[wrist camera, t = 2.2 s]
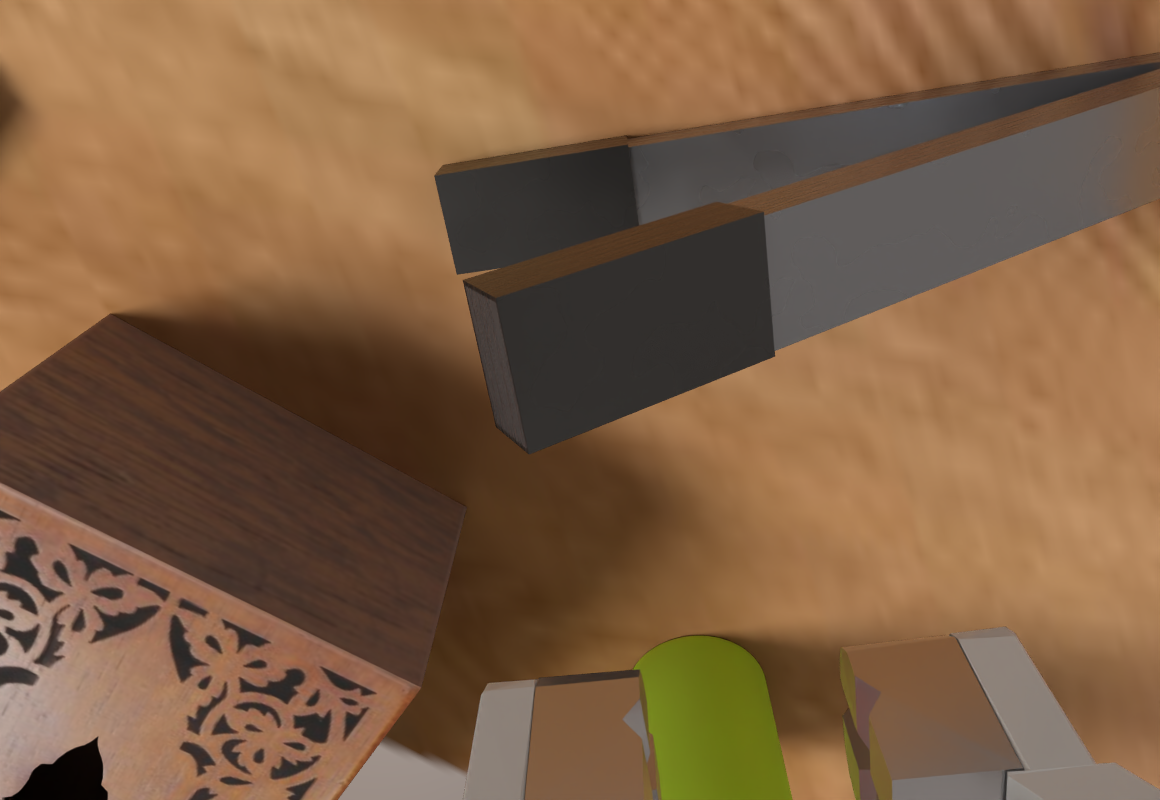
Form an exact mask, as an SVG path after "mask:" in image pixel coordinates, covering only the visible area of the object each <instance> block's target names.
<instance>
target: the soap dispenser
mask: <svg viewBox="0 0 1160 800" xmlns="http://www.w3.org/2000/svg"><path fill="white" fill-rule="evenodd" d="M637 669H640V671H641V674H642V678H643V683H644V688H645V693H646V698H647V709H648V725H649V732H650V733H651V734H652V735H653V738H654V744H655V750H656V757H657V764H658V771H659V778H660V788H661V798H662V800H792V795H791V791H790V786H789V782H788V778H787V773H786V769H785V764H784V760H783V755H782V751H781V746H780V742H779V737H778V733H777V728H776V724H775V720H774V715H773V711H772V706H771V702H770V697H769V693H768V688H767V684H766V679H765V676H764V673H763V670H762V668H761V666H760V665H759V663H758V662H757V661H756V659H755V658H754V657H753V656H752V655H751V654H750V653H749V652H747V651H746V650H745V649H743V648H742V647H740V646H739V645H737V644H735V643H732V642H730V641H727V640H724V639H721V638H717V637H711V636H687V637H681V638H677V639H673V640H670V641H667V642H665V643H662V644H660V645H658V646H656V647H655V648H653V649H652V650H650V651H649V652H648V653H646V654H645V655H644V656H643V657H642V658H641V659H640V660H639V661H638V663H637V664H636V665H635V667H634V668H633V670H637Z"/></svg>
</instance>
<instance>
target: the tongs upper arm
mask: <svg viewBox="0 0 1160 800" xmlns="http://www.w3.org/2000/svg"><path fill="white" fill-rule="evenodd" d="M1157 199H1160V69H1157V70H1154V71H1151V72H1148V73H1144V74H1141V75H1138V76H1135V77H1132V78H1128V79H1125V80H1122V81H1119V82H1116V83H1112V84H1109V85H1106V86H1103V87H1100V88H1096V89H1093V90H1090V91H1087V92H1084V93H1080V94H1077V95H1074V96H1071V97H1068V98H1064V99H1061V100H1058V101H1055V102H1052V103H1048V104H1045V105H1042V106H1039V107H1036V108H1032V109H1029V110H1026V111H1023V112H1020V113H1016V114H1013V115H1010V116H1007V117H1003V118H1000V119H997V120H994V121H991V122H987V123H984V124H981V125H978V126H975V127H971V128H968V129H965V130H962V131H959V132H955V133H952V134H949V135H946V136H943V137H939V138H936V139H933V140H930V141H927V142H923V143H920V144H917V145H914V146H911V147H907V148H904V149H901V150H898V151H895V152H891V153H888V154H885V155H882V156H879V157H875V158H872V159H869V160H866V161H862V162H859V163H856V164H853V165H850V166H846V167H843V168H840V169H837V170H834V171H830V172H827V173H824V174H821V175H818V176H814V177H811V178H808V179H805V180H802V181H798V182H795V183H792V184H789V185H786V186H782V187H779V188H776V189H773V190H770V191H766V192H763V193H760V194H757V195H754V196H750V197H747V198H744V199H741V200H738V201H734V202H731V203H728V204H726V203H721V202H714V203H711V204H707V205H704V206H701V207H698V208H694V209H691V210H688V211H685V212H681V213H678V214H675V215H672V216H668V217H665V218H662V219H659V220H656V221H652V222H649V223H646V224H643V225H639V226H636V227H633V228H630V229H626V230H623V231H620V232H617V233H614V234H610V235H607V236H604V237H601V238H597V239H594V240H591V241H588V242H584V243H581V244H578V245H575V246H572V247H568V248H565V249H562V250H559V251H555V252H552V253H549V254H546V255H542V256H539V257H536V258H533V259H530V260H526V261H523V262H520V263H517V264H513V265H510V266H507V267H504V268H500V269H497V270H494V271H491V272H487V273H484V274H481V275H478V276H475V277H471V278H468V279H465V280H463V283H464V288H465V292H466V296H467V301H468V305H469V310H470V314H471V318H472V323H473V327H474V332H475V336H476V341H477V345H478V349H479V354H480V358H481V363H482V367H483V371H484V376H485V380H486V385H487V389H488V394H489V398H490V402H491V407H492V411H493V416H494V420H495V424H496V427H497V428H498V429H499V430H500V431H502V432H503V433H504V434H505V435H506V436H508V437H509V438H510V439H511V440H512V441H514V442H515V443H516V444H517V445H518V446H520V447H521V448H522V449H523V450H524V451H526V452H527V453H528V454H531V453H534V452H536V451H539V450H541V449H544V448H546V447H549V446H552V445H554V444H557V443H559V442H562V441H564V440H567V439H569V438H572V437H574V436H577V435H579V434H582V433H584V432H587V431H589V430H592V429H594V428H597V427H599V426H602V425H604V424H607V423H609V422H612V421H614V420H617V419H619V418H622V417H624V416H627V415H629V414H632V413H634V412H637V411H639V410H642V409H644V408H647V407H649V406H652V405H654V404H657V403H659V402H662V401H664V400H667V399H669V398H672V397H674V396H677V395H679V394H682V393H684V392H687V391H689V390H692V389H694V388H697V387H699V386H702V385H704V384H707V383H710V382H712V381H715V380H717V379H720V378H722V377H725V376H727V375H730V374H732V373H735V372H737V371H740V370H742V369H745V368H747V367H750V366H752V365H755V364H757V363H760V362H762V361H765V360H767V359H770V358H772V357H775V351H776V350H778V349H781V348H783V347H786V346H788V345H791V344H794V343H796V342H799V341H801V340H804V339H806V338H809V337H811V336H814V335H816V334H819V333H821V332H824V331H826V330H829V329H831V328H834V327H836V326H839V325H842V324H844V323H847V322H849V321H852V320H854V319H857V318H859V317H862V316H864V315H867V314H869V313H872V312H874V311H877V310H879V309H882V308H884V307H887V306H890V305H892V304H895V303H897V302H900V301H902V300H905V299H907V298H910V297H912V296H915V295H917V294H920V293H922V292H925V291H927V290H930V289H932V288H935V287H938V286H940V285H943V284H945V283H948V282H950V281H953V280H955V279H958V278H960V277H963V276H965V275H968V274H970V273H973V272H975V271H978V270H980V269H983V268H986V267H988V266H991V265H993V264H996V263H998V262H1001V261H1003V260H1006V259H1008V258H1011V257H1013V256H1016V255H1018V254H1021V253H1023V252H1026V251H1028V250H1031V249H1034V248H1036V247H1039V246H1041V245H1044V244H1046V243H1049V242H1051V241H1054V240H1056V239H1059V238H1061V237H1064V236H1066V235H1069V234H1071V233H1074V232H1076V231H1079V230H1082V229H1084V228H1087V227H1089V226H1092V225H1094V224H1097V223H1099V222H1102V221H1104V220H1107V219H1109V218H1112V217H1114V216H1117V215H1119V214H1122V213H1124V212H1127V211H1130V210H1132V209H1135V208H1137V207H1140V206H1142V205H1145V204H1147V203H1150V202H1152V201H1155V200H1157Z"/></svg>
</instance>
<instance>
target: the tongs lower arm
mask: <svg viewBox="0 0 1160 800" xmlns="http://www.w3.org/2000/svg"><path fill="white" fill-rule="evenodd" d="M1157 69H1160V53H1154V54H1148V55H1142V56H1136V57H1129V58H1123V59H1117V60H1111V61H1105V62H1099V63H1092V64H1086V65H1080V66H1074V67H1068V68H1061V69H1055V70H1049V71H1043V72H1037V73H1030V74H1024V75H1018V76H1012V77H1006V78H1000V79H993V80H987V81H981V82H975V83H969V84H962V85H956V86H950V87H944V88H938V89H932V90H925V91H919V92H913V93H907V94H901V95H894V96H888V97H882V98H876V99H870V100H864V101H857V102H851V103H845V104H839V105H833V106H826V107H820V108H814V109H808V110H802V111H796V112H789V113H783V114H777V115H771V116H765V117H758V118H752V119H746V120H740V121H734V122H728V123H721V124H715V125H709V126H703V127H697V128H690V129H684V130H678V131H672V132H666V133H660V134H653V135H647V136H641V137H635V138H629V139H627V136H621V137H615V138H608V139H602V140H596V141H590V142H584V143H578V144H571V145H565V146H559V147H553V148H547V149H541V150H534V151H528V152H522V153H516V154H510V155H504V156H497V157H491V158H485V159H479V160H473V161H467V162H460V163H454V164H448V165H443V166H442V167H441V168H440V169H439V171H438V172H437V173H436V174H435V181H436V185H437V190H438V194H439V198H440V203H441V207H442V211H443V216H444V220H445V225H446V229H447V233H448V238H449V242H450V246H451V251H452V255H453V260H454V264H455V268H456V273H457V275H458V274H465V273H471V272H478V271H485V270H491V269H498V268H504V267H507V266H510V265H513V264H517V263H520V262H523V261H526V260H530V259H533V258H536V257H539V256H542V255H546V254H549V253H552V252H555V251H559V250H562V249H565V248H568V247H572V246H575V245H578V244H581V243H584V242H588V241H591V240H594V239H597V238H601V237H604V236H607V235H610V234H614V233H617V232H620V231H623V230H626V229H630V228H633V227H636V226H639V225H643V224H646V223H649V222H652V221H656V220H659V219H662V218H665V217H668V216H672V215H675V214H678V213H681V212H685V211H688V210H691V209H694V208H698V207H701V206H704V205H707V204H711V203H714V202H721V203H726V204H728V203H731V202H734V201H738V200H741V199H744V198H747V197H750V196H754V195H757V194H760V193H763V192H766V191H770V190H773V189H776V188H779V187H782V186H786V185H789V184H792V183H795V182H798V181H802V180H805V179H808V178H811V177H814V176H818V175H821V174H824V173H827V172H830V171H834V170H837V169H840V168H843V167H846V166H850V165H853V164H856V163H859V162H862V161H866V160H869V159H872V158H875V157H879V156H882V155H885V154H888V153H891V152H895V151H898V150H901V149H904V148H907V147H911V146H914V145H917V144H920V143H923V142H927V141H930V140H933V139H936V138H939V137H943V136H946V135H949V134H952V133H955V132H959V131H962V130H965V129H968V128H971V127H975V126H978V125H981V124H984V123H987V122H991V121H994V120H997V119H1000V118H1003V117H1007V116H1010V115H1013V114H1016V113H1020V112H1023V111H1026V110H1029V109H1032V108H1036V107H1039V106H1042V105H1045V104H1048V103H1052V102H1055V101H1058V100H1061V99H1064V98H1068V97H1071V96H1074V95H1077V94H1080V93H1084V92H1087V91H1090V90H1093V89H1096V88H1100V87H1103V86H1106V85H1109V84H1112V83H1116V82H1119V81H1122V80H1125V79H1128V78H1132V77H1135V76H1138V75H1141V74H1144V73H1148V72H1151V71H1154V70H1157Z"/></svg>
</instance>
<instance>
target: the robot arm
mask: <svg viewBox="0 0 1160 800" xmlns="http://www.w3.org/2000/svg"><path fill="white" fill-rule="evenodd" d="M840 680H841V683H842V687H843V690H844V693H845V696H846V699H847V702H848V706H849V708H848V710H847V711H846V712H845V713H844V715H843V716H842V717H843V729H844V741H845V748H846V755H847V762H848V768H849V774H850V778H851V782H852V786H853V791H854V795H855V798H856V800H1160V789H1158V788H1156V787H1155V786H1153V785H1151V784H1150V783H1148V782H1146V781H1145V780H1143V779H1141V778H1140V777H1138V776H1136V775H1135V774H1133V773H1131V772H1130V771H1128V770H1126V769H1125V768H1123V767H1122V766H1120V765H1118V764H1117V763H1103V764H1096V763H1095V761H1094V759H1093V758H1092V756H1091V754H1090V753H1089V751H1088V750H1087V748H1086V746H1085V745H1084V743H1083V742H1082V740H1081V738H1080V737H1079V735H1078V734H1077V732H1076V730H1075V729H1074V727H1073V726H1072V724H1071V722H1070V721H1069V719H1068V717H1067V716H1066V714H1065V713H1064V711H1063V709H1062V708H1061V706H1060V705H1059V703H1058V701H1057V700H1056V698H1055V697H1054V695H1053V693H1052V692H1051V690H1050V688H1049V687H1048V685H1047V684H1046V682H1045V680H1044V679H1043V677H1042V676H1041V674H1040V672H1039V671H1038V669H1037V668H1036V666H1035V664H1034V663H1033V661H1032V660H1031V658H1030V656H1029V655H1028V653H1027V651H1026V650H1025V648H1024V647H1023V645H1022V643H1021V642H1020V640H1019V639H1018V637H1017V635H1016V634H1015V633H1014V632H1013V631H1011V630H1010V629H1008V628H1007V627H998V628H990V629H982V630H974V631H967V632H959V633H951V634H950V635H949V636H947V635H941V636H933V637H924V638H915V639H907V640H898V641H890V642H881V643H873V644H864V645H855V646H847V647H841V650H840ZM463 800H662V798H661V788H660V778H659V771H658V764H657V757H656V750H655V744H654V738H653V735H652V734H651V733H650V732H649V725H648V709H647V698H646V693H645V688H644V683H643V678H642V674H641V671H640V669H637V670H626V671H614V672H602V673H590V674H578V675H567V676H555V677H543V678H539V679H538V680H536V679H533V680H521V681H508V682H496V683H488V684H487V686H486V688H485V689H484V691H483V693H482V695H481V698H480V704H479V710H478V715H477V721H476V727H475V733H474V738H473V744H472V750H471V756H470V761H469V767H468V773H467V779H466V785H465V790H464V796H463Z"/></svg>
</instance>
